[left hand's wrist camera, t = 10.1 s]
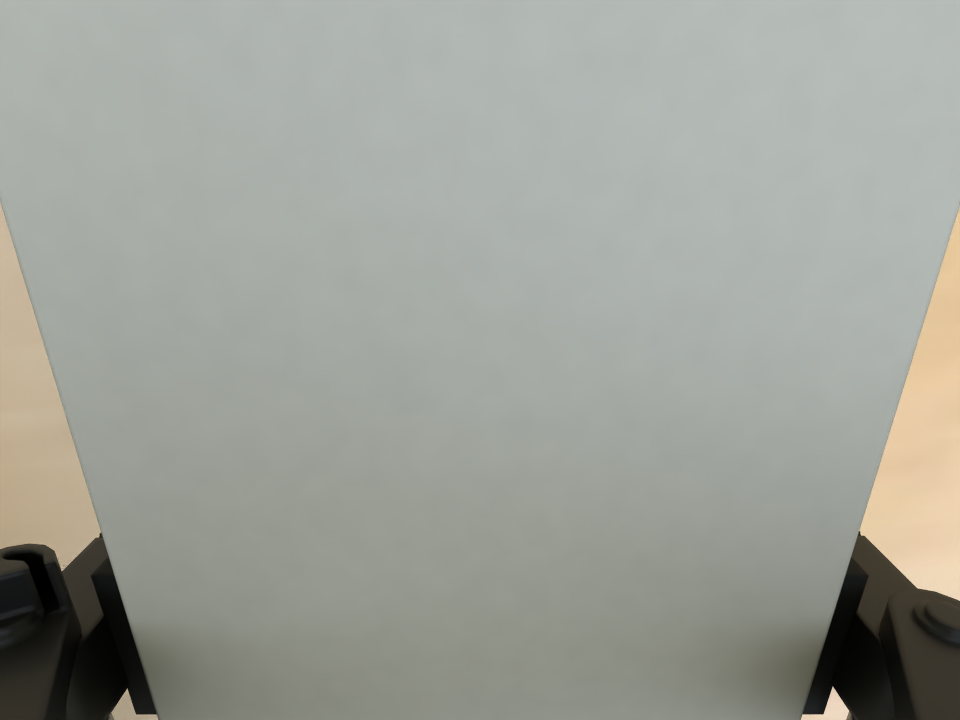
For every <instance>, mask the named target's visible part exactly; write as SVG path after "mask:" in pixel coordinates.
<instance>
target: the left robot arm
mask: <svg viewBox="0 0 960 720" xmlns="http://www.w3.org/2000/svg"><path fill="white" fill-rule="evenodd" d="M832 686H833V687H834V689H835V690H836V692H837V693H838V695H839V696H840V698H841V699H842V701H843V702H844V704H845V705H846V707H847V708H848V710H849V713H848V716H847V719H846V720H960V601H958V600H956V599H953V598H951V597H948V596H945V595H943V594H940V593H937V592H934V591H928V590H923V589H917V588H916V587H915V586H914V585H913V584H912V583H911V582H910V581H909V580H908V579H907V578H906V577H905V576H904V575H903V574H902V573H901V572H900V571H899V570H898V569H897V568H896V567H895V566H894V565H893V564H892V563H891V562H890V561H889V560H888V559H887V558H886V557H885V556H884V555H883V554H882V553H881V552H880V551H879V550H878V549H877V548H876V547H875V546H874V545H873V544H872V543H871V542H870V541H869V540H868V539H867V538H866V537H865V536H861V535H860V531H859V533H858V536H857V539H856V542H855V546H854V549H853V552H852V555H851V559H850V562H849V565H848V568H847V571H846V575H845V578H844V581H843V584H842V588H841V591H840V594H839V597H838V600H837V604H836V607H835V610H834V613H833V617H832V620H831V623H830V626H829V630H828V633H827V636H826V639H825V643H824V646H823V649H822V652H821V655H820V659H819V662H818V665H817V668H816V672H815V675H814V678H813V681H812V685H811V688H810V691H809V694H808V697H807V701H806V704H805V707H804V710H803V714H824V711H825V708H826V705H827V702H828V699H829V696H830V693H831V690H832ZM127 688H128V691H129V694H130V697H131V700H132V703H133V706H134V709H135V712H136V714H157V713H156V709H155V706H154V703H153V700H152V696H151V693H150V690H149V686H148V683H147V680H146V677H145V673H144V670H143V667H142V663H141V660H140V657H139V654H138V650H137V647H136V644H135V641H134V637H133V634H132V631H131V627H130V624H129V621H128V618H127V614H126V611H125V608H124V605H123V601H122V598H121V595H120V591H119V588H118V585H117V582H116V578H115V575H114V572H113V568H112V565H111V562H110V559H109V555H108V552H107V549H106V546H105V542H104V539H103V536H102V532H101V533H100V537H99V538H95V539H94V540H93V541H92V542H91V543H90V544H89V545H88V546H87V547H86V548H85V549H84V550H83V551H82V552H81V553H80V554H79V555H78V556H77V557H76V558H75V559H74V560H73V561H72V562H71V563H70V564H69V565H68V566H67V567H66V568H65V569H64V570H63V571H61V568H60V565H59V563H58V560H57V557H56V554H55V551H53V550H52V549H50V548H49V547H47V546H46V545H38V544H24V545H17V546H11V547H6V548H3V549H0V720H114V719H113V716H112V713H111V712H112V710H113V709H114V707H115V706H116V704H117V703H118V701H119V700H120V698H121V697H122V695H123V694H124V692H125V691H126V689H127Z"/></svg>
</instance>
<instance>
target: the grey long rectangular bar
mask: <svg viewBox="0 0 960 720" xmlns="http://www.w3.org/2000/svg"><path fill="white" fill-rule="evenodd" d="M0 202H1V205H2V208H3V211H4V215H5V218H6V221H7V225H8V228H9V231H10V234H11V238H12V241H13V244H14V248H15V251H16V254H17V257H18V261H19V264H20V267H21V270H22V274H23V277H24V280H25V284H26V287H27V290H28V293H29V297H30V300H31V303H32V306H33V310H34V313H35V316H36V320H37V323H38V326H39V329H40V333H41V336H42V339H43V343H44V346H45V349H46V352H47V356H48V359H49V362H50V365H51V369H52V372H53V375H54V379H55V382H56V385H57V388H58V392H59V395H60V398H61V401H62V405H63V408H64V411H65V415H66V418H67V421H68V424H69V428H70V431H71V434H72V437H73V441H74V444H75V447H76V451H77V454H78V457H79V460H80V464H81V467H82V470H83V474H84V477H85V480H86V483H87V487H88V490H89V493H90V496H91V500H92V503H93V506H94V510H95V513H96V516H97V519H98V523H99V526H100V529H101V532H102V536H103V539H104V542H105V546H106V549H107V552H108V555H109V559H110V562H111V565H112V568H113V572H114V575H115V578H116V582H117V585H118V588H119V591H120V595H121V598H122V601H123V605H124V608H125V611H126V614H127V618H128V621H129V624H130V627H131V631H132V634H133V637H134V641H135V644H136V647H137V650H138V654H139V657H140V660H141V663H142V667H143V670H144V673H145V677H146V680H147V683H148V686H149V690H150V693H151V696H152V700H153V703H154V706H155V709H156V713H157V716H158V719H159V720H801V717H802V714H803V710H804V707H805V704H806V701H807V697H808V694H809V691H810V688H811V685H812V681H813V678H814V675H815V672H816V668H817V665H818V662H819V659H820V655H821V652H822V649H823V646H824V643H825V639H826V636H827V633H828V630H829V626H830V623H831V620H832V617H833V613H834V610H835V607H836V604H837V600H838V597H839V594H840V591H841V588H842V584H843V581H844V578H845V575H846V571H847V568H848V565H849V562H850V559H851V555H852V552H853V549H854V546H855V542H856V539H857V536H858V533H859V529H860V526H861V523H862V520H863V516H864V513H865V510H866V507H867V504H868V500H869V497H870V494H871V491H872V487H873V484H874V481H875V478H876V474H877V471H878V468H879V465H880V462H881V458H882V455H883V452H884V449H885V445H886V442H887V439H888V436H889V432H890V429H891V426H892V423H893V420H894V416H895V413H896V410H897V407H898V403H899V400H900V397H901V394H902V390H903V387H904V384H905V381H906V378H907V374H908V371H909V368H910V365H911V361H912V358H913V355H914V352H915V348H916V345H917V342H918V339H919V336H920V332H921V329H922V326H923V323H924V319H925V316H926V313H927V310H928V306H929V303H930V300H931V297H932V294H933V290H934V287H935V284H936V281H937V277H938V274H939V271H940V268H941V264H942V261H943V258H944V255H945V252H946V248H947V245H948V242H949V239H950V235H951V232H952V229H953V226H954V222H955V219H956V216H957V213H958V210H959V206H960V0H0Z"/></svg>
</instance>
